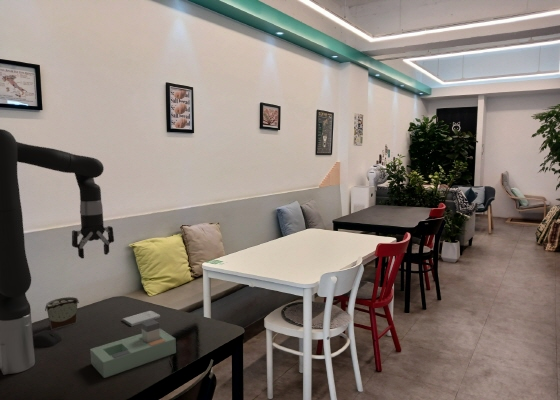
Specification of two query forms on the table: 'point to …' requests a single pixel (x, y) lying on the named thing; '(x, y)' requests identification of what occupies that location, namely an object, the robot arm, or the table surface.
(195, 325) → the table surface
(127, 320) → the external hard drive
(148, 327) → the plug
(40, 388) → the table surface
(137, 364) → the socket block
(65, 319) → the food container
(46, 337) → the computer mouse
